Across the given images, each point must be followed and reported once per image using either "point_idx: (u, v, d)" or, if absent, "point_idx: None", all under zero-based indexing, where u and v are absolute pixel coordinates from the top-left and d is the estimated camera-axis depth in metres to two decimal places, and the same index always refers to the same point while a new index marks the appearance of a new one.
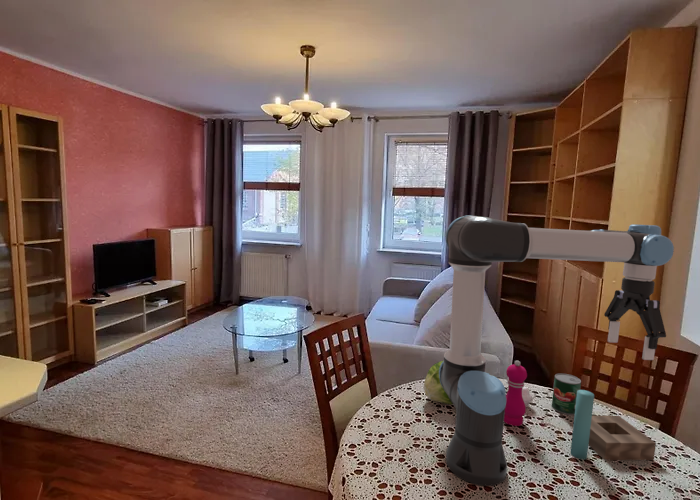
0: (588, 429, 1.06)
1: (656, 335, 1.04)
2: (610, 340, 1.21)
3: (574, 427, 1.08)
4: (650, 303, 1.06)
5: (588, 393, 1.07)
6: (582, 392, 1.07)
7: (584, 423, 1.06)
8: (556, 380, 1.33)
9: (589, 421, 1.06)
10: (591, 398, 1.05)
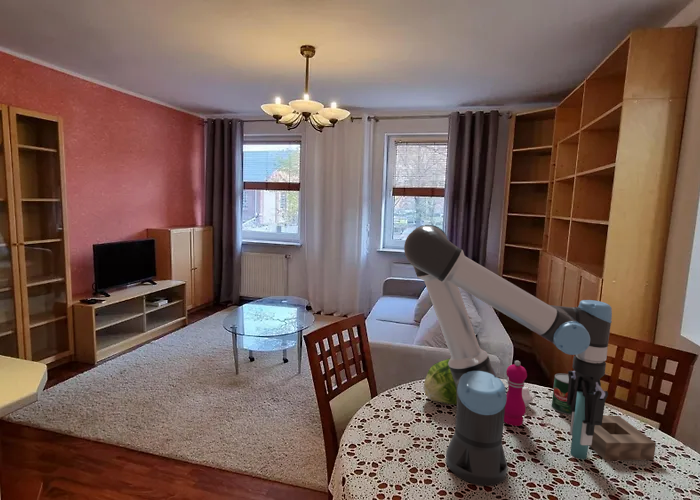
0: None
1: (591, 423, 1.02)
2: None
3: (574, 427, 1.08)
4: (597, 394, 1.00)
5: None
6: (582, 392, 1.07)
7: None
8: (556, 380, 1.33)
9: None
10: None
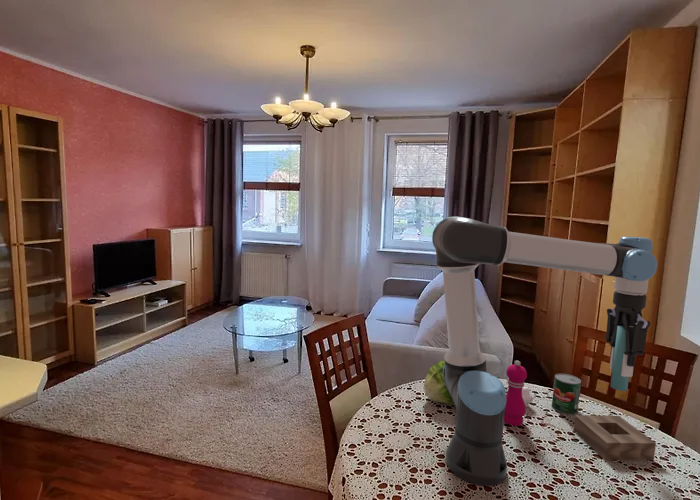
0: None
1: (633, 353, 1.06)
2: (612, 367, 1.14)
3: (615, 360, 1.12)
4: (640, 324, 1.04)
5: None
6: (622, 326, 1.10)
7: None
8: (556, 380, 1.33)
9: None
10: None
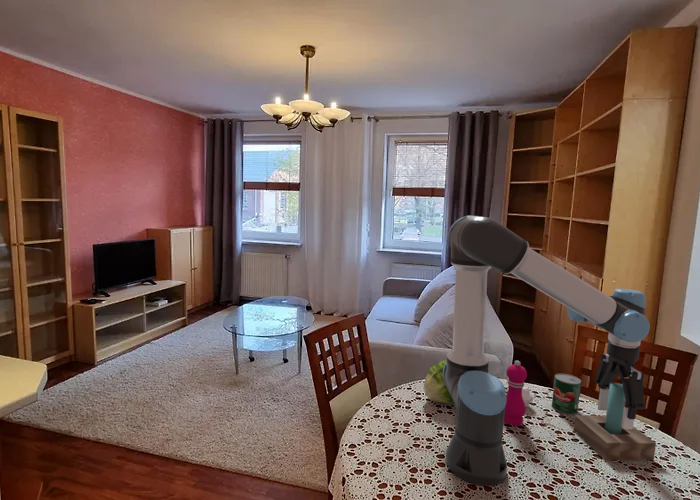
0: (621, 419, 1.12)
1: (634, 407, 1.05)
2: (600, 408, 1.18)
3: (607, 418, 1.14)
4: (634, 375, 1.05)
5: (620, 385, 1.12)
6: (615, 385, 1.13)
7: (617, 414, 1.11)
8: (556, 380, 1.33)
9: (622, 412, 1.11)
10: None
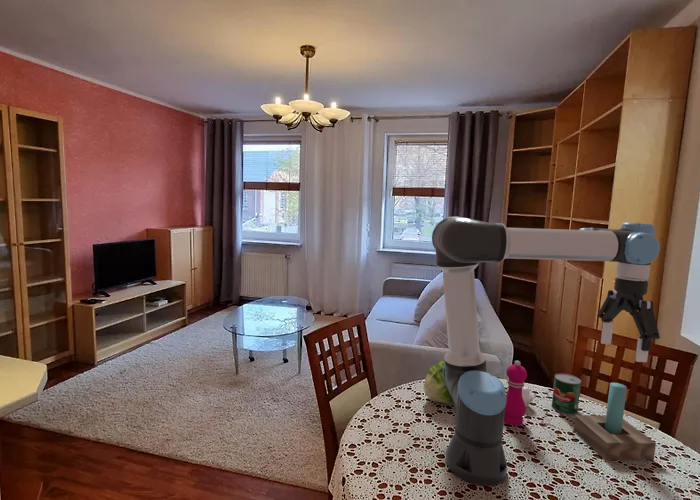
0: (621, 419, 1.12)
1: (649, 336, 1.00)
2: (603, 341, 1.17)
3: (607, 418, 1.14)
4: (643, 303, 1.03)
5: (620, 385, 1.12)
6: (615, 385, 1.13)
7: (617, 414, 1.11)
8: (556, 380, 1.33)
9: (622, 412, 1.11)
10: (624, 390, 1.11)
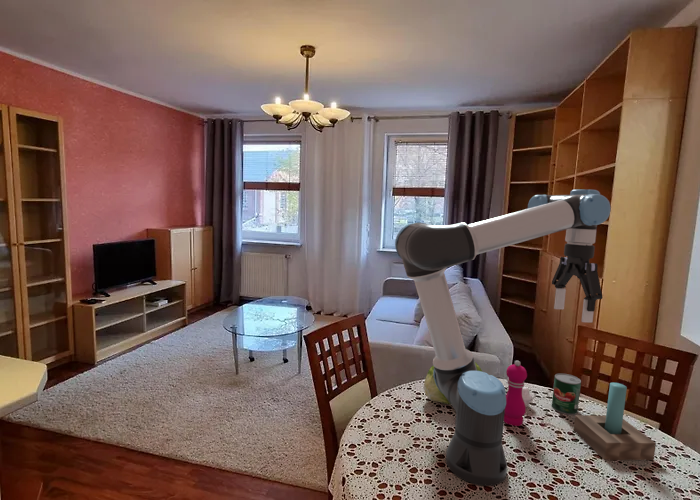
0: (621, 419, 1.12)
1: (592, 297, 1.05)
2: (556, 307, 1.22)
3: (607, 418, 1.14)
4: (588, 266, 1.07)
5: (620, 385, 1.12)
6: (615, 385, 1.13)
7: (617, 414, 1.11)
8: (556, 380, 1.33)
9: (622, 412, 1.11)
10: (624, 390, 1.11)
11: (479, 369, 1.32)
